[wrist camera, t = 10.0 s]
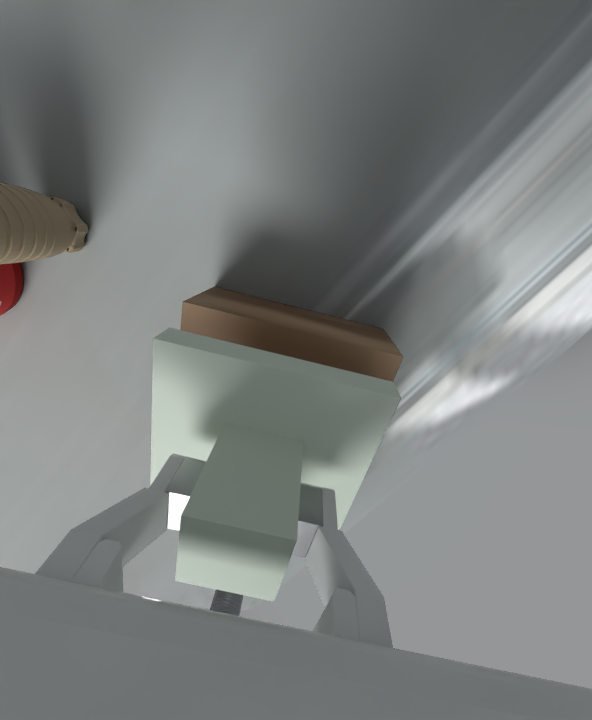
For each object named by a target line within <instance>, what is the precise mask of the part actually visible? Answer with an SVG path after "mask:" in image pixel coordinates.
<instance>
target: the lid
mask: <svg viewBox="0 0 592 720" xmlns="http://www.w3.org/2000/svg"><path fill="white" fill-rule="evenodd" d="M400 399H401V397H400V395H399V393H398V391H397V389H396V387H395V385H394V383H393V382H392V381H388V380H384V379H379V378H375V377H371V376H367V375H363V374H359V373H355V372H351V371H346V370H342V369H338V368H334V367H330V366H326V365H322V364H318V363H313V362H309V361H305V360H301V359H297V358H293V357H289V356H284V355H280V354H276V353H272V352H268V351H264V350H260V349H256V348H251V347H247V346H243V345H239V344H235V343H231V342H227V341H223V340H218V339H214V338H210V337H206V336H202V335H198V334H194V333H190V332H185V331H181V330H177V329H173V328H168V329H167V330H165V331H164V332H162V333H161V334H159V335H158V336H156V337H155V338H153V378H152V432H151V484H152V483H153V481H154V480H155V478H156V477H157V475H158V474H159V472H160V470H161V469H162V467H163V466H164V464H165V463H166V461H167V460H168V458H169V457H170V456H171V455H172V454H173V453H174V454H178V455H182V456H187V457H191V458H195V459H199V460H203V461H206V463H205V466H204V468H203V470H202V472H201V474H200V476H199V478H198V480H197V482H196V485H195V487H194V489H193V491H192V493H191V495H190V497H189V499H188V501H187V504H186V506H185V508H184V510H183V512H182V514H181V521H180V532H179V543H178V554H177V566H176V577H175V581H178V582H183V583H188V584H193V585H197V586H202V587H207V588H212V589H216V590H221V591H226V592H231V593H236V594H240V595H245V596H250V597H255V598H259V599H264V600H269V601H274V600H275V597H276V595H277V592H278V590H279V587H280V584H281V582H282V579H283V576H284V574H285V571H286V568H287V566H288V563H289V560H290V558H291V555H292V552H293V550H294V547H295V544H296V542H297V533H298V517H299V502H300V487H301V483H306V484H310V485H315V486H320V487H324V488H328V489H333V490H334V491H335V496H336V510H337V524H338V530H340V528H341V526H342V523H343V521H344V519H345V517H346V515H347V513H348V511H349V508H350V506H351V504H352V502H353V500H354V498H355V496H356V493H357V491H358V489H359V487H360V485H361V483H362V481H363V479H364V476H365V474H366V472H367V470H368V468H369V466H370V464H371V461H372V459H373V457H374V455H375V453H376V451H377V449H378V446H379V444H380V442H381V440H382V438H383V436H384V434H385V431H386V429H387V427H388V425H389V423H390V421H391V419H392V417H393V414H394V412H395V410H396V408H397V406H398V404H399V402H400Z"/></svg>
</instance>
